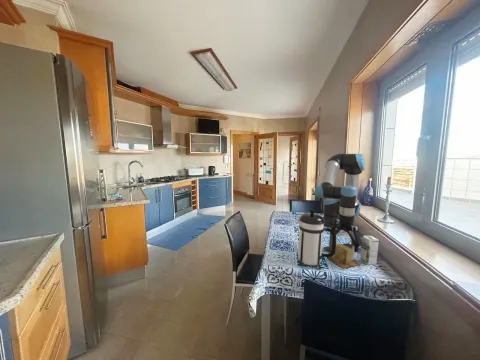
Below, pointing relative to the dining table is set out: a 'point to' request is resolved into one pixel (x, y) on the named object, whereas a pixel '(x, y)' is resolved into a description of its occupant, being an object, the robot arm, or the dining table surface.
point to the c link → (347, 253)
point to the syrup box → (369, 250)
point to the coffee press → (313, 239)
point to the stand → (343, 244)
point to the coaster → (340, 262)
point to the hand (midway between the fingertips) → (343, 251)
